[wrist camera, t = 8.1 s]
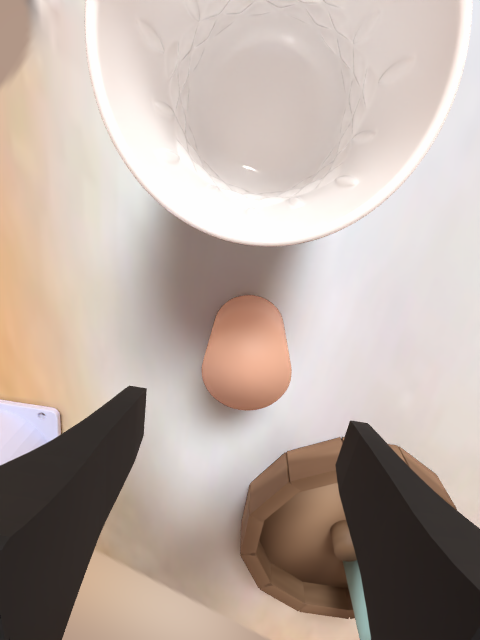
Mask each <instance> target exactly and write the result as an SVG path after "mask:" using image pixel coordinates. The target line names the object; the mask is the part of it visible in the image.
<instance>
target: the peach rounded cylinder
mask: <svg viewBox="0 0 480 640" xmlns="http://www.w3.org/2000/svg"><path fill="white" fill-rule="evenodd" d="M202 378H203V381H204V384H205V386H206V388H207V390H208V391H209V393H210V394H211V395H212V396H213V397H214V398H215V399H216V400H218V401H219V402H220V403H222V404H224V405H226V406H228V407H231V408H234V409H238V410H257V409H261V408H264V407H267V406H269V405H271V404H273V403H274V402H276V401H277V400H278V399H279V398H280V397H281V396H282V395H283V394H284V393H285V391H286V390H287V388H288V386H289V383H290V380H291V364H290V358H289V352H288V346H287V341H286V335H285V329H284V323H283V319H282V316H281V314H280V312H279V310H278V309H277V308H276V307H275V306H274V305H273V304H272V303H271V302H270V301H268V300H266V299H264V298H262V297H259V296H255V295H243V296H238V297H235V298H233V299H231V300H229V301H228V302H226V303H225V304H224V305H223V306H222V307H221V308H220V310H219V311H218V313H217V315H216V317H215V321H214V324H213V328H212V331H211V335H210V338H209V342H208V345H207V349H206V353H205V356H204V360H203V364H202Z"/></svg>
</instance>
